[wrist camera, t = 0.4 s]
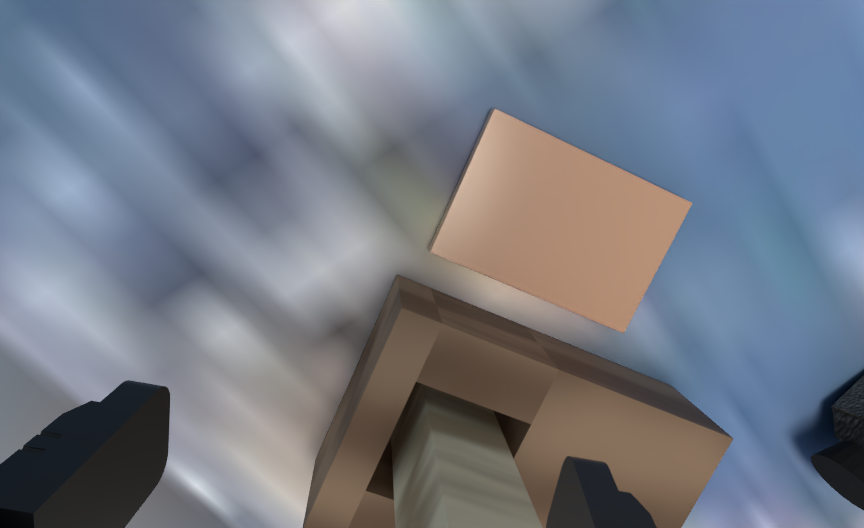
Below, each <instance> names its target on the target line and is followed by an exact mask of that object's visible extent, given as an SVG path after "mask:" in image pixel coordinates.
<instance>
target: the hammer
mask: <svg viewBox="0 0 864 528" xmlns="http://www.w3.org/2000/svg"><path fill="white" fill-rule="evenodd" d="M831 408H832V411H833V420H834V430H835V436H836V438H837V439H838V441H839V443H837V444H835V445H833V446H831V447H829V448H826V449H824V450H822V451H820V452H818V453H816V454H814V455H813V456H811V462H812V464H813V466H814V467H815V469H816V470H817V472H818V473H819V474H820V475H821V477H822V478H823V479H824V480H825V481H826V482H827V483H828V484H829V485H830V486H831V487H832V488H833V489H835V490H836V491H837V492H838V493H839V494H840V495H842V496H843V497H844V498H846V499H847V500H848V501H850V502H851V503H852V504H854V505H856V506H857V507H859V508H861V509H862V510H864V375H863V376H862V377H861V378H860V379H859V380H858V381H857V382H856V383H855V384H854V385H853V386H852V387H851V388H850V389H849V390H848V391H847V392H846V393H845V394H844V395H843V396H842V397H841V398H839V399H838V400H837V401H836V402H835V403H834V404H833V405H832V406H831Z"/></svg>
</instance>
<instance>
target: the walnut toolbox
mask: <svg viewBox="0 0 864 528" xmlns="http://www.w3.org/2000/svg"><path fill="white" fill-rule="evenodd" d="M416 382H418V383H421V384H424V385H426V386H429V387H432V388H434V389H437V390H440V391H442V392H445V393H448V394H451V395H453V396H456V397H459V398H461V399H464V400H467V401H469V402H472V403H475V404H478V405H480V406H483V407H486V408H488V409H491V410H493V411H494V414H495V416H496V419H497V421H498V423H499V426H500V428H501V430H502V433H503V435H504V438H505V440H506V442H507V445H508V447H509V449H510V452H511V454H512V456H513V459H514V461H515V464H516V466H517V468H518V471H519V473H520V475H521V478H522V480H523V483H524V485H525V487H526V490H527V492H528V494H529V497H530V499H531V502H532V504H533V506H534V509H535V511H536V513H537V516H538V518H539V521H540V523H541V525H542V528H546V523H547V518H548V514H549V511H550V507H551V504H552V500H553V496H554V493H555V489H556V486H557V482H558V479H559V475H560V471H561V468H562V465H563V462H564V460H565V458H566V457H567V456H572V457H578V458H584V459H590V460H596V461H602V462H605V463H606V464H607V465H608V467H609V469H610V471H611V474H612V476H613V479H614V481H615V483H616V486H617V488H618V490H619V491H622V492H628V493H631V494H632V495H633V496H634V497H635V498H636V499H637V500H638V501H639V502H640V503H641V504H642V505H643V507H644V508H645V509H646V510H647V511H648V512H649V513H650V514H651V516H652V518H653V521H654V523H655V525H656V527H657V528H681V527H682V525H683V524H684V522H685V520H686V519H687V517H688V515H689V513H690V512H691V510H692V508H693V507H694V505H695V503H696V501H697V500H698V498H699V496H700V495H701V493H702V491H703V490H704V488H705V486H706V484H707V483H708V481H709V479H710V478H711V476H712V474H713V472H714V471H715V469H716V467H717V466H718V464H719V462H720V461H721V459H722V457H723V455H724V454H725V452H726V450H727V449H728V447H729V445H730V443H731V442H732V440H733V438H732V437H731V436H730V435H729V434H727V433H726V432H725V431H724V430H723V429H722V428H720V427H719V426H718V425H717V424H716V423H714V422H713V421H712V420H711V419H710V418H709V417H707V416H706V415H705V414H704V413H703V412H702V411H700V410H699V409H698V408H697V407H696V406H695V405H693V404H692V403H691V402H690V401H689V400H687V399H686V398H685V397H684V396H683V395H682V394H680V393H679V392H678V391H677V390H676V389H675V388H673V387H672V386H670V385H668V384H665V383H663V382H660V381H658V380H656V379H653V378H651V377H648V376H646V375H643V374H641V373H638V372H636V371H633V370H631V369H628V368H626V367H624V366H621V365H619V364H616V363H614V362H611V361H609V360H606V359H604V358H601V357H599V356H596V355H594V354H591V353H589V352H587V351H584V350H582V349H579V348H577V347H574V346H572V345H569V344H567V343H564V342H562V341H559V340H557V339H554V338H552V337H550V336H547V335H545V334H542V333H540V332H537V331H535V330H532V329H530V328H527V327H525V326H522V325H520V324H517V323H515V322H513V321H510V320H508V319H505V318H503V317H500V316H498V315H495V314H493V313H490V312H488V311H485V310H483V309H481V308H478V307H476V306H473V305H471V304H468V303H466V302H463V301H461V300H458V299H456V298H453V297H451V296H448V295H446V294H444V293H441V292H439V291H436V290H434V289H431V288H429V287H426V286H424V285H421V284H419V283H416V282H414V281H411V280H409V279H407V278H404V277H402V276H399V275H397V276H396V278H395V280H394V283H393V285H392V287H391V289H390V292H389V294H388V296H387V299H386V301H385V303H384V305H383V308H382V310H381V312H380V314H379V317H378V319H377V321H376V324H375V326H374V328H373V330H372V333H371V335H370V337H369V339H368V342H367V344H366V346H365V348H364V351H363V353H362V355H361V358H360V360H359V362H358V364H357V367H356V369H355V371H354V373H353V376H352V378H351V380H350V383H349V385H348V387H347V389H346V392H345V394H344V396H343V398H342V401H341V403H340V405H339V408H338V410H337V412H336V414H335V417H334V419H333V421H332V423H331V426H330V428H329V430H328V432H327V435H326V437H325V439H324V442H323V444H322V446H321V448H320V451H319V453H318V455H317V457H316V460H315V466H314V471H313V476H312V482H311V487H310V492H309V497H308V503H307V508H306V513H305V519H304V524H303V528H395V509H394V488H393V466H392V445H391V435H392V432H393V430H394V428H395V426H396V424H397V422H398V419H399V417H400V415H401V413H402V411H403V409H404V406H405V404H406V402H407V400H408V398H409V396H410V394H411V391H412V389H413V387H414V385H415V383H416Z"/></svg>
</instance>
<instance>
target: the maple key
mask: <svg viewBox="0 0 864 528" xmlns="http://www.w3.org/2000/svg"><path fill="white" fill-rule="evenodd" d="M391 445H392V466H393V488H394V509H395V528H542V525H541V523H540V521H539V518H538V516H537V513H536V511H535V509H534V506H533V504H532V502H531V499H530V497H529V494H528V492H527V490H526V487H525V485H524V483H523V480H522V478H521V475H520V473H519V471H518V468H517V466H516V464H515V461H514V459H513V456H512V454H511V452H510V449H509V447H508V445H507V442H506V440H505V438H504V435H503V433H502V430H501V428H500V426H499V423H498V421H497V419H496V416H495V414H494V411H493V410H491V409H488V408H486V407H483V406H480V405H478V404H475V403H472V402H469V401H467V400H464V399H461V398H459V397H456V396H453V395H451V394H448V393H445V392H442V391H440V390H437V389H434V388H432V387H429V386H426V385H424V384H421V383H418V382H416V383H415V385H414V387H413V389H412V391H411V394H410V396H409V398H408V400H407V402H406V404H405V406H404V409H403V411H402V413H401V415H400V417H399V419H398V422H397V424H396V426H395V428H394V430H393V432H392V435H391Z"/></svg>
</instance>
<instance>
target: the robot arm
mask: <svg viewBox="0 0 864 528" xmlns="http://www.w3.org/2000/svg"><path fill="white" fill-rule="evenodd" d="M169 413H170V393H169V390H168V388H167V387H164V386H159V385H153V384H147V383H141V382H135V381H125V382H123V383H122V384H121V385H119V386H118V387H117V388H116V389H115V390H114V391H113V392H111V393H110V394H109V395H108V396H107V397H106V398H104V399H103V400H102V401H101V402H95V401H90V402H88V403H86V404H83V405H81V406H79V407H77V408H75V409H72V410H70V411H68V412H66V413H64V414H62V415H61V416H59V417H58V418H57V419H56V420H54V421H53V422H52V423H51V424H50V425H48V426H47V427H46V428H45V429H43V430H42V431H41V434H40V435H36V436H35V437H34V438H32V439H31V440H30V441H29V442H27V443H26V444H25V445H24V447H23V449H22V450H20V449H19V450H18V451H16V452H15V453H14V454H13V455H11V456H10V457H9V458H8V459H6V460H5V461H4V462H3V463H1V464H0V528H125V526H126V525H127V524H128V522H129V521H130V520H131V519H132V517H133V516H134V515H135V513H136V512H137V510H138V509H139V508H140V507H141V505H142V504H143V503H144V502H145V500H146V499H147V498H148V496H149V495H150V494H151V492H152V491H153V489H154V488H155V487H156V485H157V484H158V482H159V481H160V479H161V477H162V474H163V472H164V469H165V466H166V462H167V457H168V441H169ZM546 528H657V527H656V525H655V523H654V521H653V518H652V516H651V514H650V513H649V512H648V511H647V510H646V509H645V508H644V507H643V505H642V504H641V503H640V502H639V501H638V500H637V499H636V498H635V497H634V496H633V495H632V494H631V493H628V492H622V491H619V490H618V488H617V486H616V483H615V481H614V479H613V476H612V474H611V471H610V469H609V467H608V465H607V464H606V463H605V462H602V461H596V460H590V459H584V458H578V457H572V456H567V457H566V458H565V460H564V462H563V465H562V468H561V471H560V475H559V479H558V482H557V486H556V489H555V493H554V496H553V500H552V504H551V507H550V511H549V514H548V518H547V523H546Z"/></svg>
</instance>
